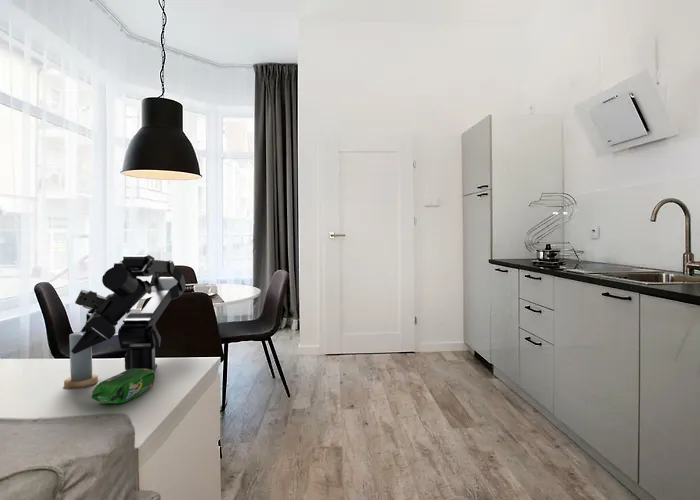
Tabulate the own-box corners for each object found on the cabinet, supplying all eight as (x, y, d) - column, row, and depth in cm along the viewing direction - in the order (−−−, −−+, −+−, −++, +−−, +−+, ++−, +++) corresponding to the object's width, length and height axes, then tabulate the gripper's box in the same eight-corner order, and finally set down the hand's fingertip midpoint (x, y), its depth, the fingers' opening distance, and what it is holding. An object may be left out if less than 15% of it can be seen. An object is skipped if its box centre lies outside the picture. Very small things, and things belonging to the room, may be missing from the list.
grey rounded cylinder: (96, 375, 106) (95, 331, 106) (85, 381, 102) (84, 335, 101) (78, 375, 106) (76, 331, 106) (66, 381, 102) (65, 336, 101)
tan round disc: (102, 377, 108) (102, 373, 108) (91, 387, 101) (91, 382, 101) (72, 379, 107) (71, 374, 107) (58, 389, 100) (58, 384, 100)
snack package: (84, 411, 88) (83, 386, 88) (134, 384, 104) (133, 363, 103) (114, 413, 87) (114, 388, 87) (160, 386, 102) (160, 364, 102)
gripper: (97, 275, 113) (47, 320, 108) (97, 281, 97) (39, 335, 92) (131, 301, 117) (85, 347, 112) (137, 312, 101) (83, 365, 96)
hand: (73, 348), depth 103 cm, fingers open, 9 cm apart
